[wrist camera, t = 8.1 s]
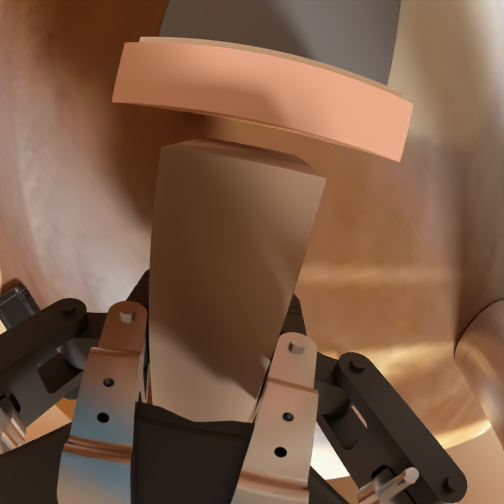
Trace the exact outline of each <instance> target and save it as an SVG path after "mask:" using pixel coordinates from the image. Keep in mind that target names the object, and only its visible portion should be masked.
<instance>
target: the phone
mask: <svg viewBox="0 0 504 504" xmlns="http://www.w3.org/2000/svg"><path fill="white" fill-rule="evenodd" d="M39 311H41V310H40V308H39V307H38V305H37V304H36V302H35V301H34V299H33V297H32V296H31V294H30V293H29V291H28V290H27V289H26V288H25V287H24V286H23V285H17V286H15V287H13V288H12V289H10V290H8V291H7V292H5V293H3V294H2V295H0V320H1V321H2V323H3V324H4V326H5V327H6V329H7V330H9V329H10V328H12V327H14V326H15V325H17V324H19V323H21V322H22V321H24V320H26V319H27V318H29V317H31V316H32V315H34V314H36V313H38V312H39ZM60 352H61V351H60V348H59V347H58V348H57V349H55V350H54V351H52V352H51V353H50V354H48V355H47V356H45V357H44V358H42V359H41V360H40V362H39V363H38V367H40V366H41V365H43V364H44V363H45V362H47V361H48V360H50V359H51V358H53V357H54V356H55V355H57V354H58V353H60ZM38 367H37V368H38ZM80 384H81V383H80ZM80 384H79V385H78V386H77V387H75V388H74V389H73V390H72V391H70V392H69V393H68V394H67V395H65V396H64V398H66V399H69V400H77V397H78V393H79V388H80Z"/></svg>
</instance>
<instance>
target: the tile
mask: <svg viewBox="0 0 504 504" xmlns="http://www.w3.org/2000/svg"><path fill="white" fill-rule="evenodd" d="M401 95H402V93H401V92H399V91H397V90H395V89H392V88H390V87H388V86H385V85H383V84H381V83H378V82H376V81H373V80H371V79H368V78H366V77H363V76H360V75H357V74H355V73H352V72H349V71H346V70H343V69H340V68H337V67H334V66H331V65H328V64H325V63H321V62H318V61H314V60H311V59H307V58H304V57H300V56H296V55H292V54H288V53H283V52H279V51H274V50H270V49H265V48H260V47H254V46H248V45H242V44H236V43H229V42H221V41H213V40H203V39H191V38H174V37H140V41H139V42H126V43H125V44H124V48H123V52H122V56H121V60H120V64H119V68H118V73H117V77H116V82H115V87H114V92H113V97H112V102H116V103H126V104H134V105H142V106H149V107H156V108H163V109H169V110H175V111H181V112H188V113H195V114H202V115H209V116H215V117H221V118H227V119H233V120H238V121H243V122H248V123H253V124H258V125H263V126H267V127H272V128H276V129H280V130H285V131H289V132H293V133H297V134H301V135H304V136H308V137H312V138H315V139H319V140H323V141H326V142H329V143H333V144H337V145H341V146H345V147H349V148H353V149H357V150H360V151H364V152H367V153H371V154H374V155H378V156H381V157H384V158H388V159H391V160H394V161H397V162H400V159H401V156H402V152H403V148H404V144H405V140H406V136H407V132H408V128H409V124H410V119H411V115H412V110H413V106H414V104H413V103H411V102H408V101H406V100H404V99H402V98H401Z"/></svg>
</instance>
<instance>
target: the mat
mask: <svg viewBox="0 0 504 504" xmlns="http://www.w3.org/2000/svg"><path fill="white" fill-rule="evenodd" d="M400 1H401V0H169V3H168V6H167V9H166V12H165V15H164V18H163V22H162V25H161V28H160V32H159V35H158V37H174V38H191V39H203V40H213V41H221V42H229V43H236V44H242V45H248V46H254V47H260V48H265V49H270V50H274V51H279V52H283V53H288V54H292V55H296V56H300V57H304V58H307V59H311V60H314V61H318V62H321V63H325V64H328V65H331V66H334V67H337V68H340V69H343V70H346V71H349V72H352V73H355V74H357V75H360V76H363V77H366V78H368V79H371V80H373V81H376V82H378V83H381V84H383V85H385V86H387V83H388V78H389V73H390V68H391V63H392V57H393V51H394V45H395V39H396V32H397V25H398V17H399V9H400Z"/></svg>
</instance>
